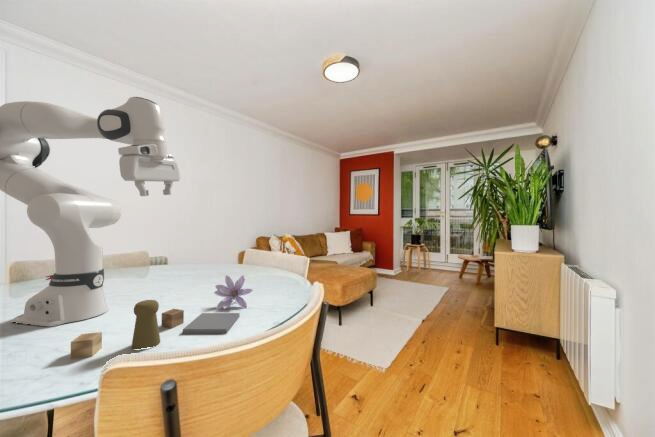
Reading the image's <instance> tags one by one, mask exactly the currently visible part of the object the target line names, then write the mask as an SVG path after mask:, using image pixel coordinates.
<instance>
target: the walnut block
mask: <svg viewBox="0 0 655 437" xmlns="http://www.w3.org/2000/svg"><path fill="white" fill-rule="evenodd" d="M184 312H185V311H184V310H183V309H178V308H172V309H169V310H167V311H164V312H161V327H162V328H166V329H167V328H168V329H174V328H176V327H179V326H181V325H182V324H184V322H185V321H184V320H185V318H184V317H185V316H184V314H185V313H184Z"/></svg>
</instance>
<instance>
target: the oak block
mask: <svg viewBox="0 0 655 437" xmlns="http://www.w3.org/2000/svg"><path fill="white" fill-rule="evenodd" d="M101 349H103V332H102V331H99V332H91V333H89V332H88V333H81V334H80V335H78V336H77V337H76V338H74V339H73V340H72V341H70V360H75V359H82V358H91V357H94V356H95V355H96V354H97V353H98V352H100V350H101Z"/></svg>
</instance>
